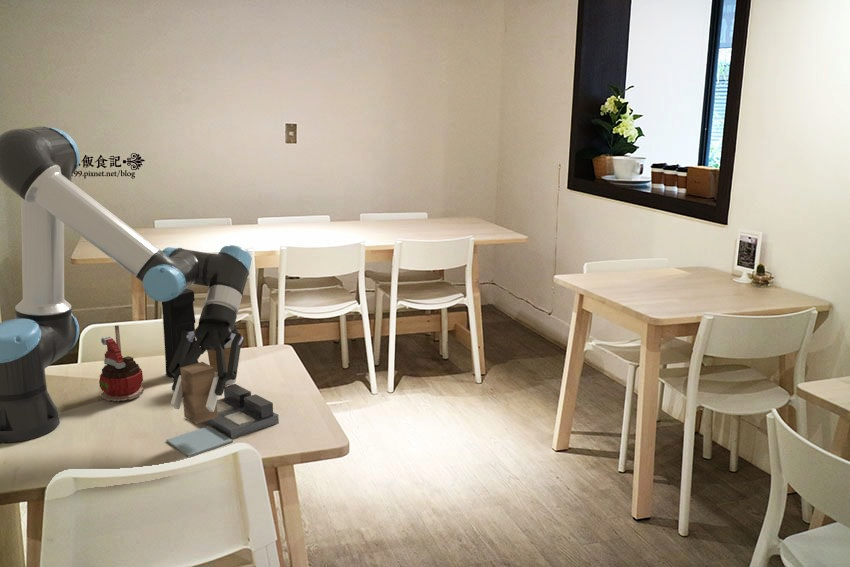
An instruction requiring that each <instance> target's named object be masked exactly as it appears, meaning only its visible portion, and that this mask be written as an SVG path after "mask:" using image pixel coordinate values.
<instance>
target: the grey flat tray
mask: <svg viewBox="0 0 850 567" xmlns="http://www.w3.org/2000/svg"><path fill="white" fill-rule="evenodd" d="M223 396H224V397H223V398H220V399H217V412H218V417H216V418H213V419H210V420H207V421H204V422H203V423H204V424H205V425H207V426H210V427H212V428H213V429H215V430H217V431H218V432H220V433H222V434H223V435H225V436H227V437H228V438H230V439H231V440H234V439H236V438H239V437H242V436H244V435H248V434H250V433H253V432H256V431H260V430H263V429H265V428H269V427H271V426H274V425H278V424H279V422H280V419H279V414H277V413H276V412H274V403H273V402H272V401H270V400H268V399H266V398H264V397H262V396H260V395H258V394H252V391H251V390H248V389H246V388H245V387H242V386H241V385H238V384H237V383H232V384H229V385H225V387H224V391H223Z"/></svg>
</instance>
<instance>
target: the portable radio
mask: <svg viewBox="0 0 850 567" xmlns="http://www.w3.org/2000/svg"><path fill="white" fill-rule="evenodd" d="M195 301H196V299H195V291H194V290H192V289H190V288H186V289H185V290H184V291H183V292H182V293H181V294H180V295H178V296H177V297H175V298H173V299H171V300H169V301H165V302H161V310H162V324H163V338H164V339H163V340H164V356H165V357H164V358H165V375H166V377H169V378H172V379H173V380H174V379H175V376H173V375H172V374H171V373H170V372H169V371H168V368H169V366H170V364H171V362H172V359H173V357H174V355H175V352H176V350H177V348H178V346H179V343H180V341H181V333H182V331H184V330H186V331H187V332H192V331H195V329H196V328H195V327H196V325H195V324H197V323H196V315H195V308H194V302H195ZM196 340H197V339H196V337H195V338H194V339H193V342H191V344H190V348H189V350H188V352H187V355H188V353H189V352H190V351H191V349H192V348H193V344H194V343H195V341H196ZM187 355H186V356H187ZM185 358H186V357H185ZM196 363H200V362H199V359H198V360H197V361H196ZM196 363H195V364H196Z"/></svg>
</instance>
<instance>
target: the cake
mask: <svg viewBox="0 0 850 567" xmlns="http://www.w3.org/2000/svg"><path fill="white" fill-rule="evenodd" d="M114 333H115V340H114V339H113V338H112V337H111V336H110V335H106V336H103V337H101V338H100V341H101V344H102V345H103V346H106V348H107V350H106V351H105V353H104V360H103V363H104V365H103V367H102V368H101V374H99V381H98V383H99V388H100V389H101V391H102V393H101V397H102V400H103V399H104V400H107V401H112V402H116V401H117V402H120V401H123V402H124V401H127V400H130V401H131V400H133V399H135V398H139V397H140V396H141V395H143V393H144V392H145V389H144V386H142V383H143V382H144V376H143V370H142V368H140V365H139V364H138V363H136V360H134V357H132V356H125V357H123V355H122V347H121V346H122V344H121V335H120V325H119V324H116V325H114Z"/></svg>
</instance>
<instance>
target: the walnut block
mask: <svg viewBox="0 0 850 567" xmlns="http://www.w3.org/2000/svg"><path fill="white" fill-rule="evenodd" d="M180 370H181V381H182V393H183V398H182V404H183V414H184V418H185V419H188V421H190V422H192V423H193V424H196V425H197V424H200V423H204V421H207V420H210V419H213V418H216V417H218V412H217V402H216V406H215V409H214V412H210V411H209V410H208V409H207V408H206V403H207V400H208V396H209V393H210V389H211V386H212V382H213V378H214V377H215V371H214V367H212V366H210V364H208V363H205V362H203V361H201V362H199V363H196V364H192V365H188V366H185V367H181V368H180Z"/></svg>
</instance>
